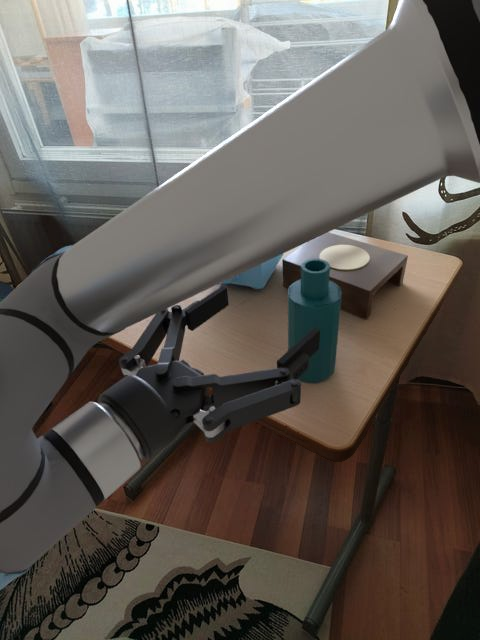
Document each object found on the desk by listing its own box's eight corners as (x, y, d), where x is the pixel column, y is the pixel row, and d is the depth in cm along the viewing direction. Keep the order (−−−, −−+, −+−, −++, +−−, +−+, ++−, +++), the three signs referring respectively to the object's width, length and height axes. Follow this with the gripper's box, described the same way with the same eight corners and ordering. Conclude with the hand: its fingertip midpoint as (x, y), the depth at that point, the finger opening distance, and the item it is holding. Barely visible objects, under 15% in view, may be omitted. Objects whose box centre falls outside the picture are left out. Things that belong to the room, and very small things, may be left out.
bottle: (343, 363, 65) (354, 262, 54) (317, 390, 61) (323, 287, 50) (305, 345, 69) (308, 247, 58) (279, 369, 65) (276, 269, 54)
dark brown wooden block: (402, 283, 80) (408, 254, 77) (366, 319, 73) (370, 290, 69) (322, 256, 90) (323, 229, 87) (282, 285, 83) (282, 258, 79)
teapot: (258, 304, 79) (254, 237, 70) (204, 294, 82) (194, 230, 74) (291, 247, 94) (291, 187, 86) (245, 242, 98) (241, 183, 89)
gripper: (62, 394, 47) (199, 303, 59) (223, 543, 33) (360, 385, 45) (37, 344, 42) (191, 256, 54) (212, 493, 29) (368, 332, 40)
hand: (268, 315), depth 50 cm, fingers open, 13 cm apart
